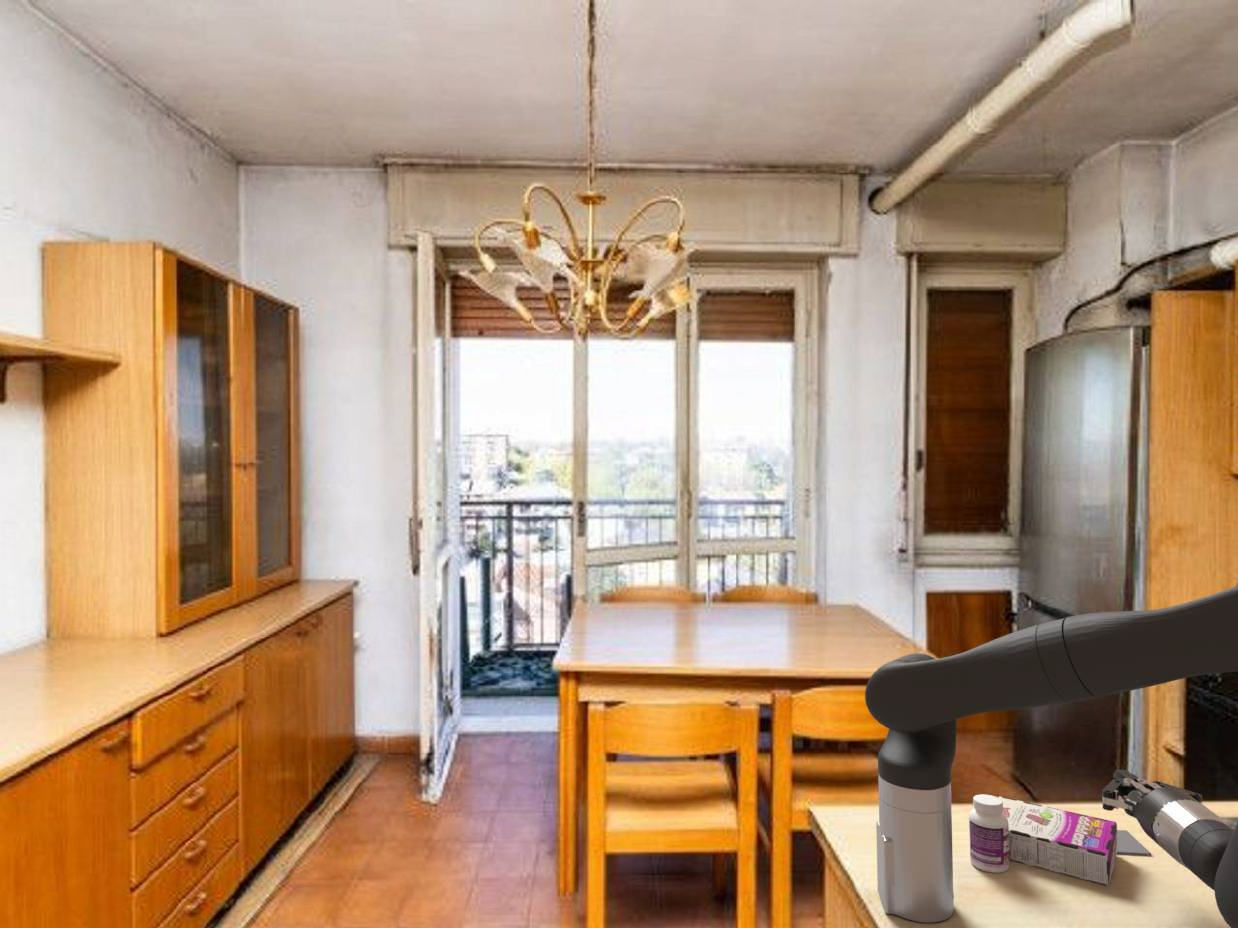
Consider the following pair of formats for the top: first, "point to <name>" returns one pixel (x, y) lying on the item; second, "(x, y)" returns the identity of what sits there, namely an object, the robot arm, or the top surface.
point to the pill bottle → (989, 834)
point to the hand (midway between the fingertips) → (1120, 776)
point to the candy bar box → (1061, 840)
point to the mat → (1129, 844)
